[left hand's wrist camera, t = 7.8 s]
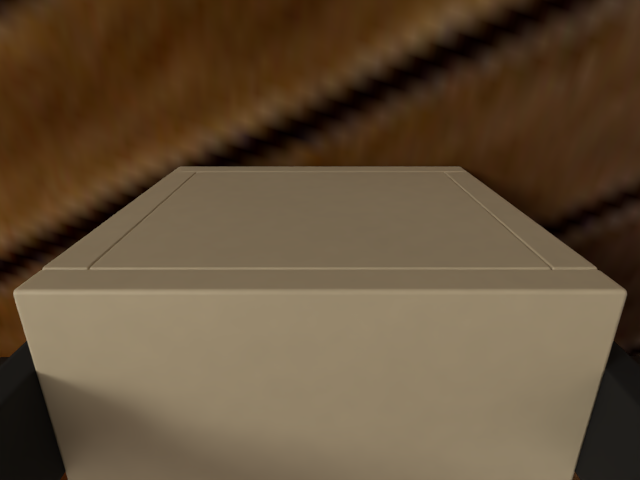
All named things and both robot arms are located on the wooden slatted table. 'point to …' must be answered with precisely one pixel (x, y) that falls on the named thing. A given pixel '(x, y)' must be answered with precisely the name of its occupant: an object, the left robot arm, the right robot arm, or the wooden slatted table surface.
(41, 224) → the wooden slatted table surface
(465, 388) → the cabinet
